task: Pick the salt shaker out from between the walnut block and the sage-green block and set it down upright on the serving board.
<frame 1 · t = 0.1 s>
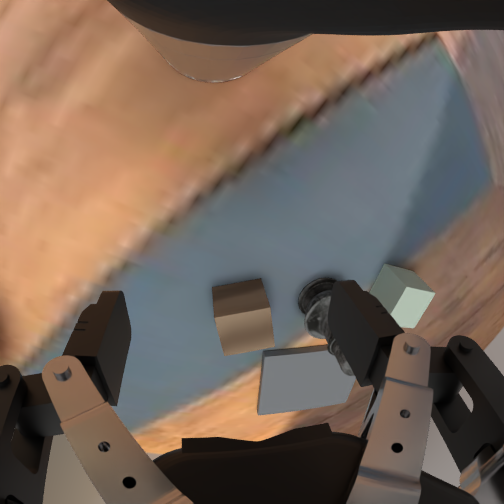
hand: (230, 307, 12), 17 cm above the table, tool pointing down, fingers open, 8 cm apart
serving board: (309, 378, 41), on the table
salt shaker: (320, 296, 34), on the table
sage block: (389, 284, 35), on the table
walnut block: (240, 301, 33), on the table
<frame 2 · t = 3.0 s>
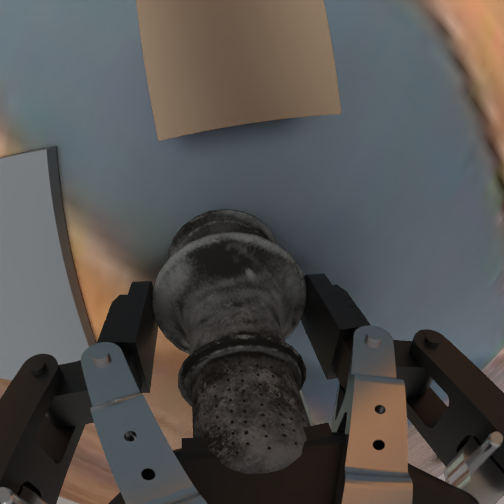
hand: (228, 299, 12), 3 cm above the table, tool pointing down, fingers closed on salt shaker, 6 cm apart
salt shaker: (223, 261, 15), on the table, touching gripper
walnut block: (225, 63, 11), on the table
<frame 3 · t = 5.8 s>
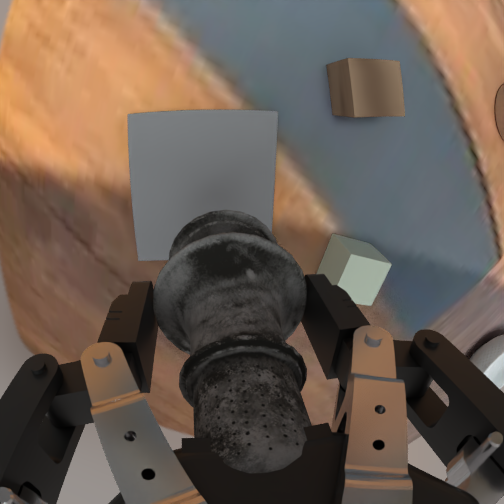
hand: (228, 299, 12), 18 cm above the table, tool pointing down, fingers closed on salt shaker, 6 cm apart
serving board: (202, 185, 28), on the table
salt shaker: (224, 261, 15), point 15 cm above the table, touching gripper
sage block: (343, 258, 34), on the table
cereal bowl: (479, 355, 49), on the table
walnut block: (353, 89, 26), on the table
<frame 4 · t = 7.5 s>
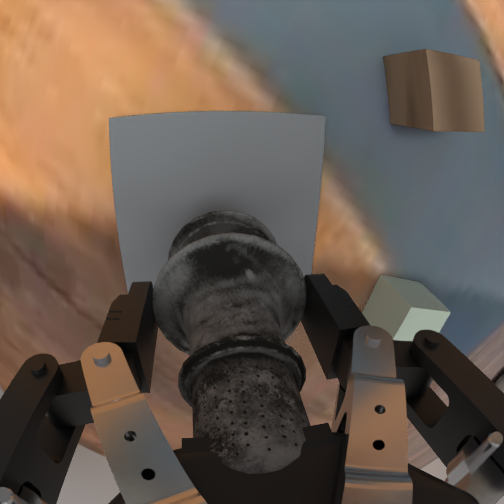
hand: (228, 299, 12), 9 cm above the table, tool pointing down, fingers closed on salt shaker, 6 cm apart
serving board: (217, 219, 21), on the table
salt shaker: (223, 262, 15), point 6 cm above the table, touching gripper
sage block: (389, 302, 26), on the table
cereal bowl: (503, 378, 42), on the table
walnut block: (413, 91, 18), on the table
when the fingers open (5 cm above the table, at t = 8.8 s): salt shaker drops 1 cm, resting on serving board.
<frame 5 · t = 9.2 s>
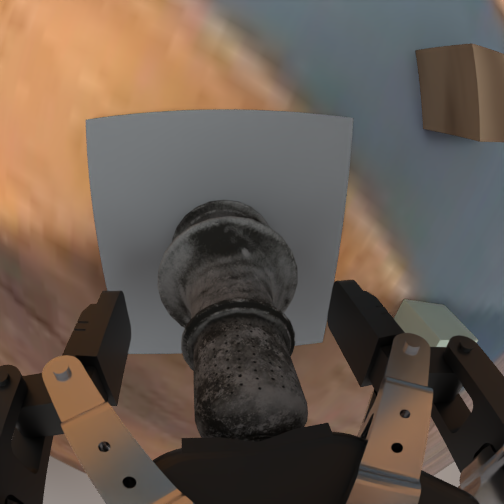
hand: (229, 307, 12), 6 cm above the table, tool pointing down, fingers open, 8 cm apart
serving board: (220, 242, 17), on the table
salt shaker: (222, 248, 16), point 1 cm above the table, touching serving board
sage block: (410, 327, 23), on the table
walnut block: (447, 91, 15), on the table
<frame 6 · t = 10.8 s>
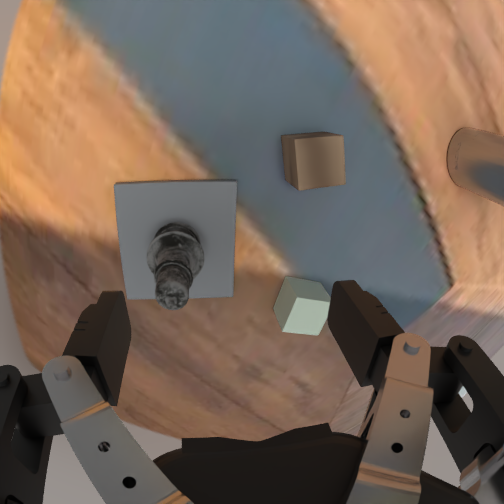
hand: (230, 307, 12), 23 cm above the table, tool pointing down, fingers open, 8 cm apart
serving board: (176, 241, 35), on the table
salt shaker: (176, 243, 34), point 1 cm above the table, touching serving board
sage block: (296, 295, 41), on the table
walnut block: (304, 155, 33), on the table
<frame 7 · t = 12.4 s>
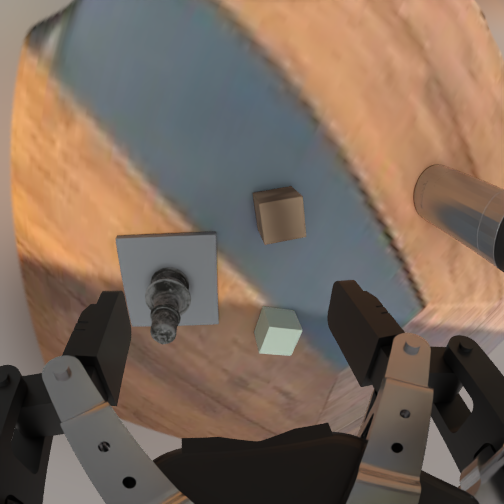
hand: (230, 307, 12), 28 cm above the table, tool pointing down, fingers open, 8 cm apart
serving board: (169, 281, 42), on the table
salt shaker: (169, 283, 41), point 1 cm above the table, touching serving board
sage block: (273, 321, 48), on the table
walnut block: (274, 207, 40), on the table
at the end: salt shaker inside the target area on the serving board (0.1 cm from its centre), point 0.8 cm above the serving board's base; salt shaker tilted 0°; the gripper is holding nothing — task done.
